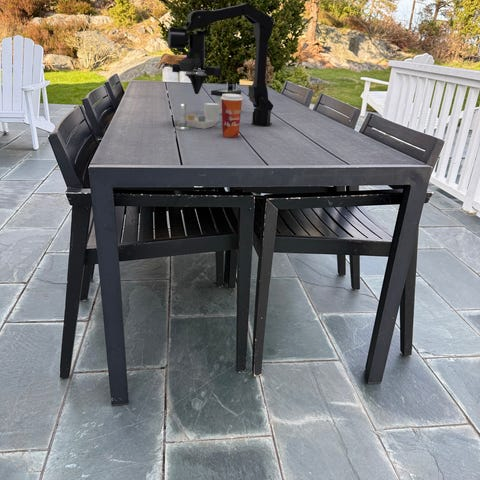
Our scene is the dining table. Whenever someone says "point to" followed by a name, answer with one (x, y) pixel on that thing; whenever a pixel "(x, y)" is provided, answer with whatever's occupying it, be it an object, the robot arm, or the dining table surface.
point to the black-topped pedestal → (225, 91)
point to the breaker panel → (199, 122)
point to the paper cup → (231, 114)
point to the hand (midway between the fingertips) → (196, 94)
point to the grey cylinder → (212, 111)
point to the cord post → (182, 117)
